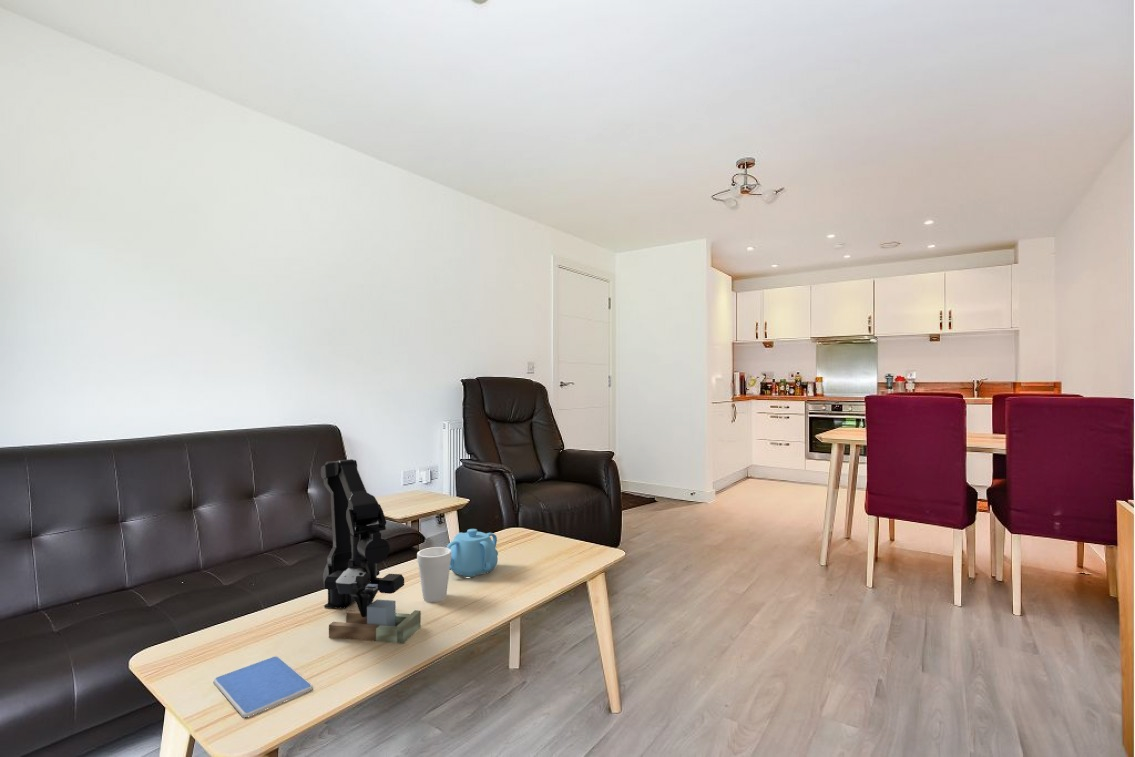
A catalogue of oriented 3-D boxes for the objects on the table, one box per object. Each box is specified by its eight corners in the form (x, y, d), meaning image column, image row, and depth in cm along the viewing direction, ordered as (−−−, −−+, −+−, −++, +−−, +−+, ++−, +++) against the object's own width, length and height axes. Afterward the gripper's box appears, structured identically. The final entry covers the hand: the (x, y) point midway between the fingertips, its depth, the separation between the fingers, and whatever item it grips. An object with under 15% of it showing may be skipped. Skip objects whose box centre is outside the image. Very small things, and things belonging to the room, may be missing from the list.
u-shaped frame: (328, 637, 126) (328, 620, 126) (350, 621, 135) (350, 605, 135) (403, 643, 123) (403, 626, 123) (420, 626, 131) (420, 610, 131)
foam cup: (415, 594, 152) (415, 549, 152) (447, 589, 155) (447, 545, 156) (420, 607, 143) (419, 559, 143) (454, 601, 147) (453, 554, 147)
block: (367, 636, 127) (366, 606, 127) (377, 627, 131) (377, 599, 131) (386, 637, 126) (386, 608, 126) (395, 629, 130) (395, 600, 130)
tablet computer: (211, 683, 108) (211, 677, 108) (277, 659, 117) (277, 653, 117) (244, 722, 95) (244, 715, 95) (315, 691, 104) (314, 685, 104)
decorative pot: (438, 579, 164) (438, 536, 164) (457, 562, 180) (457, 522, 180) (488, 582, 161) (488, 537, 161) (503, 564, 177) (503, 524, 177)
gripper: (308, 561, 123) (308, 628, 123) (381, 565, 120) (381, 634, 119) (338, 547, 134) (338, 608, 134) (405, 550, 131) (405, 614, 130)
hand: (364, 616), depth 129 cm, fingers closed
